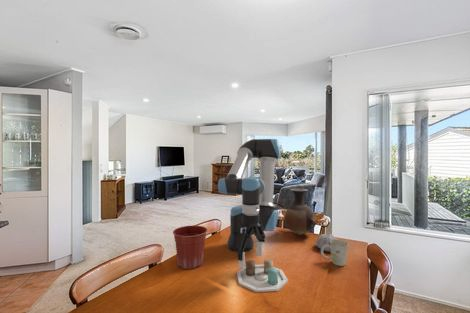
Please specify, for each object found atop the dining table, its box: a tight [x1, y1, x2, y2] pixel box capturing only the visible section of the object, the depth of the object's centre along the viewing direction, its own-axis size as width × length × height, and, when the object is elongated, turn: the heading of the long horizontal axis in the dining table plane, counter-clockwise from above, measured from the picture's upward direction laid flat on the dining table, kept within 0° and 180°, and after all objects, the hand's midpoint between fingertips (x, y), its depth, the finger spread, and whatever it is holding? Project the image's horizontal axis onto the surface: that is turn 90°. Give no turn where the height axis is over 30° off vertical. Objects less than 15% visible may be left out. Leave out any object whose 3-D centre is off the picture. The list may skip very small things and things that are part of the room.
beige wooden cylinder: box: [263, 258, 274, 275], centre depth 103 cm, size 4×4×5 cm
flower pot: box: [172, 225, 208, 270], centre depth 114 cm, size 16×16×16 cm
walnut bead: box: [245, 259, 256, 276], centre depth 102 cm, size 4×4×5 cm
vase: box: [284, 188, 316, 236], centre depth 154 cm, size 23×19×30 cm
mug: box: [320, 239, 350, 267], centre depth 115 cm, size 8×13×10 cm, turn 78°
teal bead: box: [268, 267, 278, 285], centre depth 95 cm, size 4×4×5 cm
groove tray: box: [236, 263, 289, 293], centre depth 99 cm, size 20×20×2 cm
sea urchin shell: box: [315, 233, 339, 253], centre depth 132 cm, size 13×14×8 cm
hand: (251, 261), depth 103 cm, fingers open, 13 cm apart
